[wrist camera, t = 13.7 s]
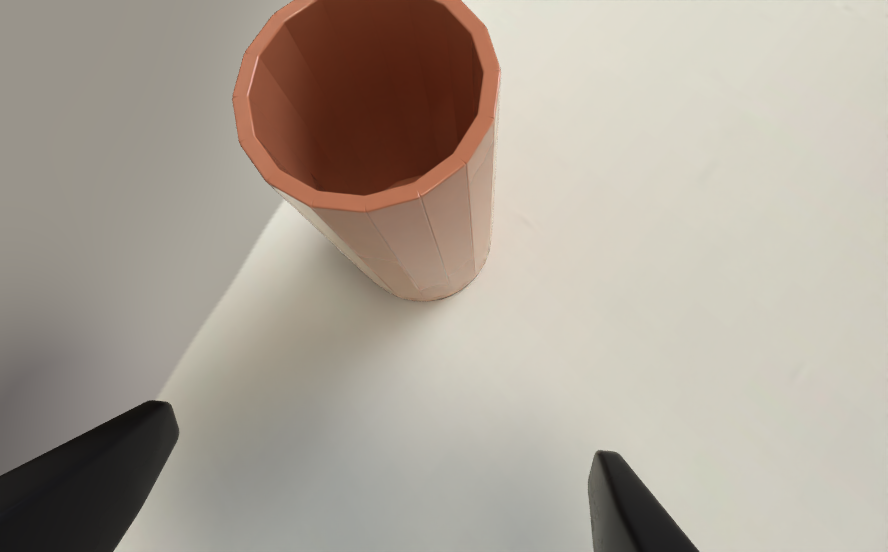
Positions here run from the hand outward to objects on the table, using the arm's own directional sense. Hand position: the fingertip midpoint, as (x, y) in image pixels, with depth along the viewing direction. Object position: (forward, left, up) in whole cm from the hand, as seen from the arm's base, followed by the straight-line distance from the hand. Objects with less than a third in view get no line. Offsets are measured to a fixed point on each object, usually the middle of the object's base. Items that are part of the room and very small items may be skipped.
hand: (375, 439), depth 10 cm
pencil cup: (+7, +5, -13) cm, 15 cm away
